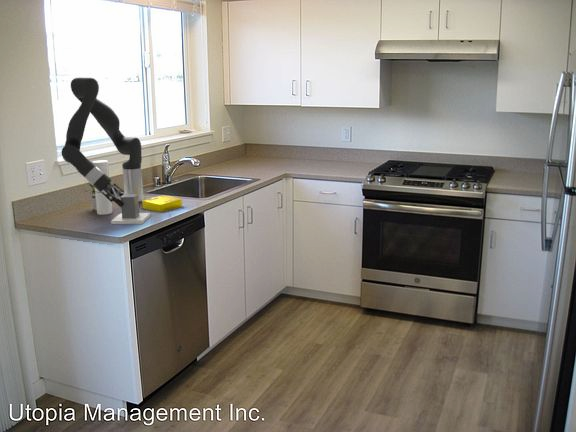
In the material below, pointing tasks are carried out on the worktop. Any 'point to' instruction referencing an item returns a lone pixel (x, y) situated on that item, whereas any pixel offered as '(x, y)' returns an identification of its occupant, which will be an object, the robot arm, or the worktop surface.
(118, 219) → the stud plate
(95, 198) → the house plant
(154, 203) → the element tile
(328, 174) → the worktop surface
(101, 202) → the cylindrical container
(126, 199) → the tall grey pillar
